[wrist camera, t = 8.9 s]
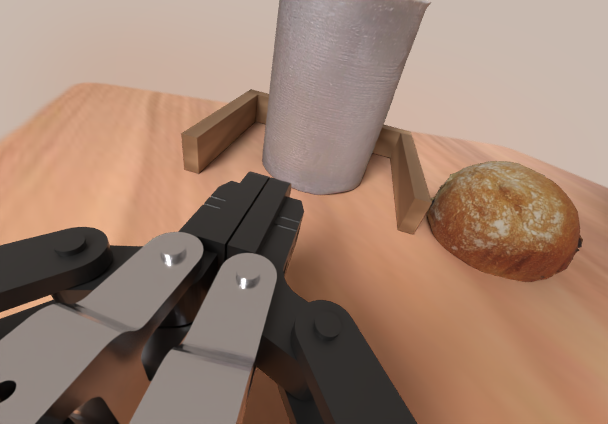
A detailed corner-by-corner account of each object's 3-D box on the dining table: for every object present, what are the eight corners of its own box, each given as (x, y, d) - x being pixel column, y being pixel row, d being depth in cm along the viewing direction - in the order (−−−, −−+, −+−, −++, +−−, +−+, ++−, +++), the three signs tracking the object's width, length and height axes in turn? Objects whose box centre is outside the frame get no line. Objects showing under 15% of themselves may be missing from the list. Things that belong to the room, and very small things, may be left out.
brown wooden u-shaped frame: (399, 156, 32) (410, 131, 30) (413, 234, 21) (432, 202, 19) (249, 115, 33) (250, 89, 31) (184, 169, 22) (181, 133, 20)
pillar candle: (283, 134, 31) (309, -48, 21) (368, 160, 30) (435, -20, 20) (242, 174, 23) (256, -80, 14) (355, 211, 22) (451, -38, 13)
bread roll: (426, 222, 29) (425, 149, 26) (551, 224, 25) (572, 136, 21) (422, 290, 22) (419, 200, 18) (601, 311, 17) (646, 198, 14)
